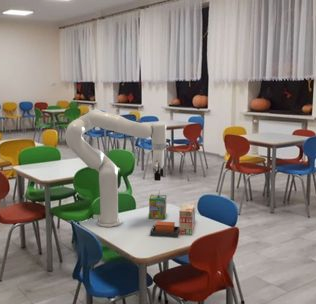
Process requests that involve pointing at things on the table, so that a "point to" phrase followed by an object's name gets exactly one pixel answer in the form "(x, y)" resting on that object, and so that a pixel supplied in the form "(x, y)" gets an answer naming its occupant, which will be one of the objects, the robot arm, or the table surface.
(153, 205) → the chalk box
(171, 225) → the orange rectangular block
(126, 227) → the table surface
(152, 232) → the frame
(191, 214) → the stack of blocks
